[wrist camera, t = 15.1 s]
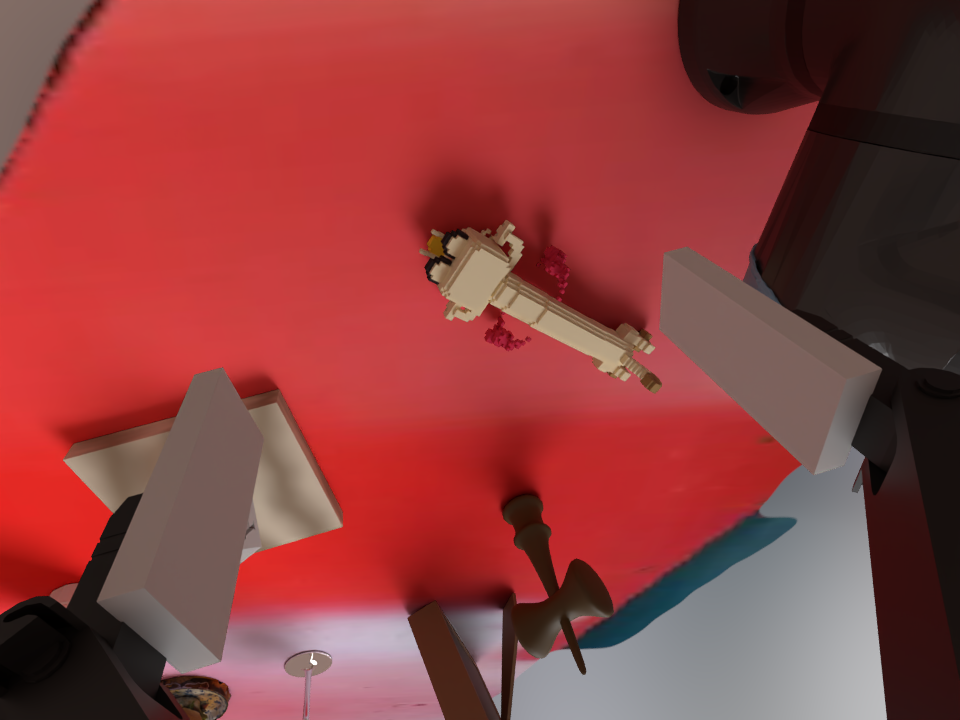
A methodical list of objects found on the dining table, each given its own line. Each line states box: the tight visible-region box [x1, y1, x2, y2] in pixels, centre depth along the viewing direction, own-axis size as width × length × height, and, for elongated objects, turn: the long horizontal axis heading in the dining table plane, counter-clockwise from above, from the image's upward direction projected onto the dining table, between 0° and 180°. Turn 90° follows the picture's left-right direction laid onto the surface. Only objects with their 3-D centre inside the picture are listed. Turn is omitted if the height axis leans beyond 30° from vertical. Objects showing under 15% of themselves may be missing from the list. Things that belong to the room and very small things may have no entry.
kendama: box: [502, 495, 614, 675], centre depth 54 cm, size 6×10×20 cm, turn 132°
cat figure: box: [419, 220, 662, 393], centre depth 43 cm, size 10×9×25 cm
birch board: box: [63, 389, 343, 553], centre depth 48 cm, size 18×18×2 cm
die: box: [240, 498, 262, 563], centre depth 44 cm, size 8×9×10 cm
